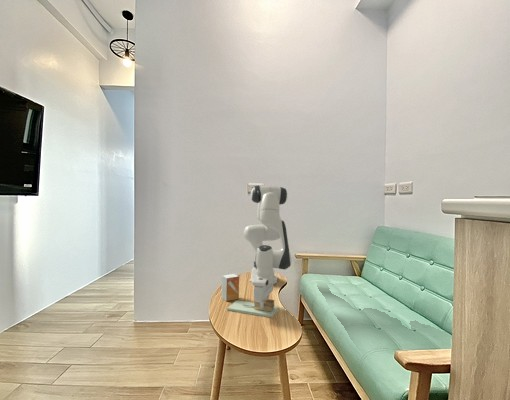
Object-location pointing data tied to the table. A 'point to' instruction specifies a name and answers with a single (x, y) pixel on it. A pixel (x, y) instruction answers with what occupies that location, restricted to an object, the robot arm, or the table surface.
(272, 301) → the block
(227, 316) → the table surface
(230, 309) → the board
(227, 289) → the small box
